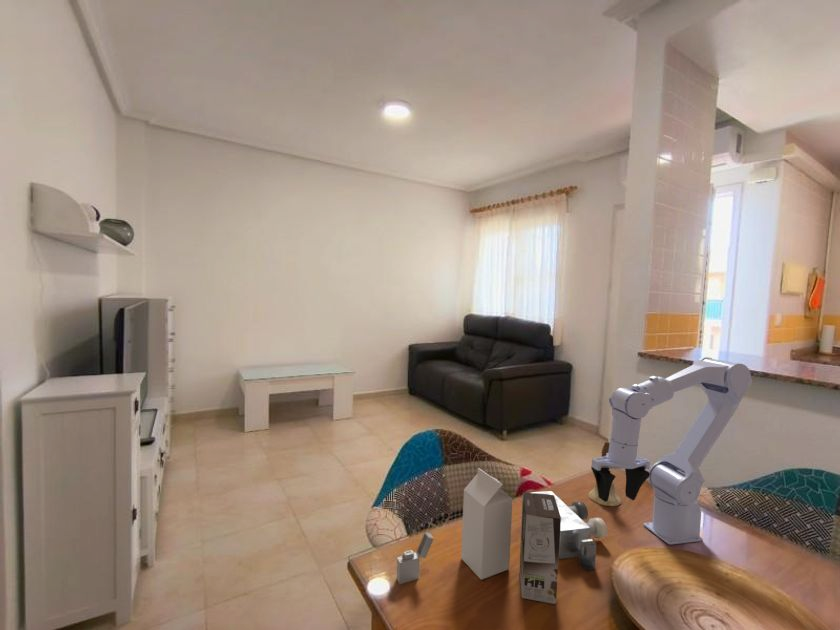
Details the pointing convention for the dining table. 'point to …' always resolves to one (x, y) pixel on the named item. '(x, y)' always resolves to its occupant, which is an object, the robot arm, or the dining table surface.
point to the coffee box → (539, 547)
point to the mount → (569, 530)
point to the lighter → (412, 560)
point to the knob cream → (597, 527)
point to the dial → (587, 554)
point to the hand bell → (613, 497)
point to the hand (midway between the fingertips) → (616, 498)
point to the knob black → (579, 510)
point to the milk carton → (486, 526)
